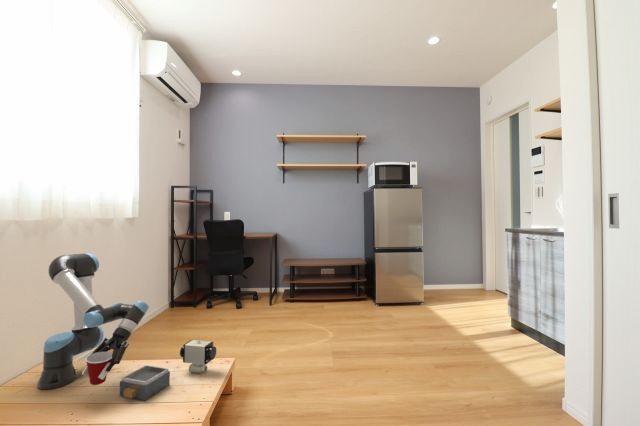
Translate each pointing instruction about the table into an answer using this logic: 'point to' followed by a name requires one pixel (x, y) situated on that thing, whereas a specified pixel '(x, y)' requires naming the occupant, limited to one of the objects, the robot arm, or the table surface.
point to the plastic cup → (97, 366)
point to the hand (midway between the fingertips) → (92, 376)
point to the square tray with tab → (144, 383)
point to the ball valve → (198, 355)
